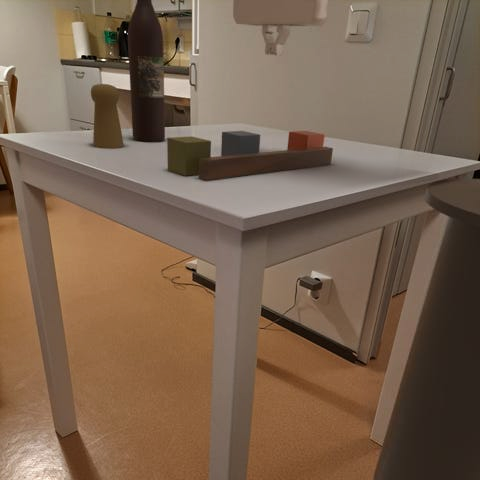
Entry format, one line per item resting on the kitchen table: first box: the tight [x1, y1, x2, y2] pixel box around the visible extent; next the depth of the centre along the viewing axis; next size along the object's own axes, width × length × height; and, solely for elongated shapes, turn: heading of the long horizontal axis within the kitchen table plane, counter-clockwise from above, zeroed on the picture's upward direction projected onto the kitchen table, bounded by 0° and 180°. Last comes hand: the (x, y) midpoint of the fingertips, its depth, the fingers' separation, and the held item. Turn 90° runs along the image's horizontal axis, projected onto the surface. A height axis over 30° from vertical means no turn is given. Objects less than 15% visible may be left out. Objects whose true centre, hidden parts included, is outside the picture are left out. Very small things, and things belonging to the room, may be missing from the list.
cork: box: [90, 83, 125, 149], centre depth 89 cm, size 6×6×11 cm
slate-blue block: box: [220, 130, 261, 156], centre depth 84 cm, size 5×5×5 cm
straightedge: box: [198, 146, 334, 182], centre depth 79 cm, size 2×31×3 cm, turn 132°
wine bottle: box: [127, 0, 166, 143], centre depth 94 cm, size 7×7×30 cm
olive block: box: [166, 135, 212, 177], centre depth 74 cm, size 5×5×5 cm
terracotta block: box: [286, 130, 326, 150], centre depth 90 cm, size 5×5×5 cm
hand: (273, 55), depth 83 cm, fingers closed
